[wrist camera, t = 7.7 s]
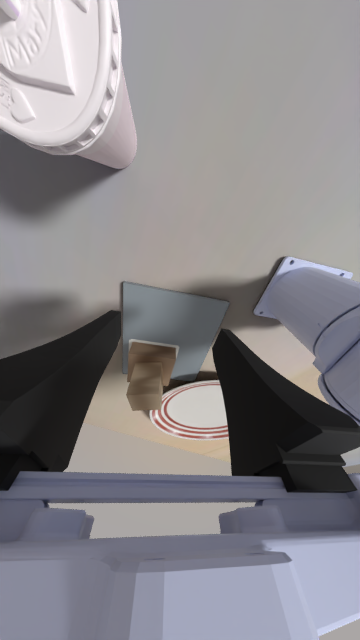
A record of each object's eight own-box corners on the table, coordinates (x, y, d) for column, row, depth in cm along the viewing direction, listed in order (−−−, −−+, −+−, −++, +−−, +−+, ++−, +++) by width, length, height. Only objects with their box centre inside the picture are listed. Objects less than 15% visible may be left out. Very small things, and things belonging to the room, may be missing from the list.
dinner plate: (145, 424, 41) (142, 438, 39) (161, 358, 26) (159, 374, 24) (235, 430, 46) (239, 444, 43) (293, 377, 31) (304, 392, 28)
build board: (228, 301, 21) (229, 303, 20) (194, 379, 30) (194, 381, 30) (124, 281, 19) (123, 282, 18) (123, 370, 28) (122, 373, 28)
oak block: (161, 362, 23) (158, 393, 18) (163, 378, 25) (161, 409, 21) (135, 362, 23) (126, 394, 18) (139, 378, 25) (132, 410, 21)
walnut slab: (175, 347, 24) (175, 359, 22) (168, 373, 28) (168, 386, 26) (132, 341, 24) (128, 353, 21) (131, 369, 27) (127, 381, 25)
